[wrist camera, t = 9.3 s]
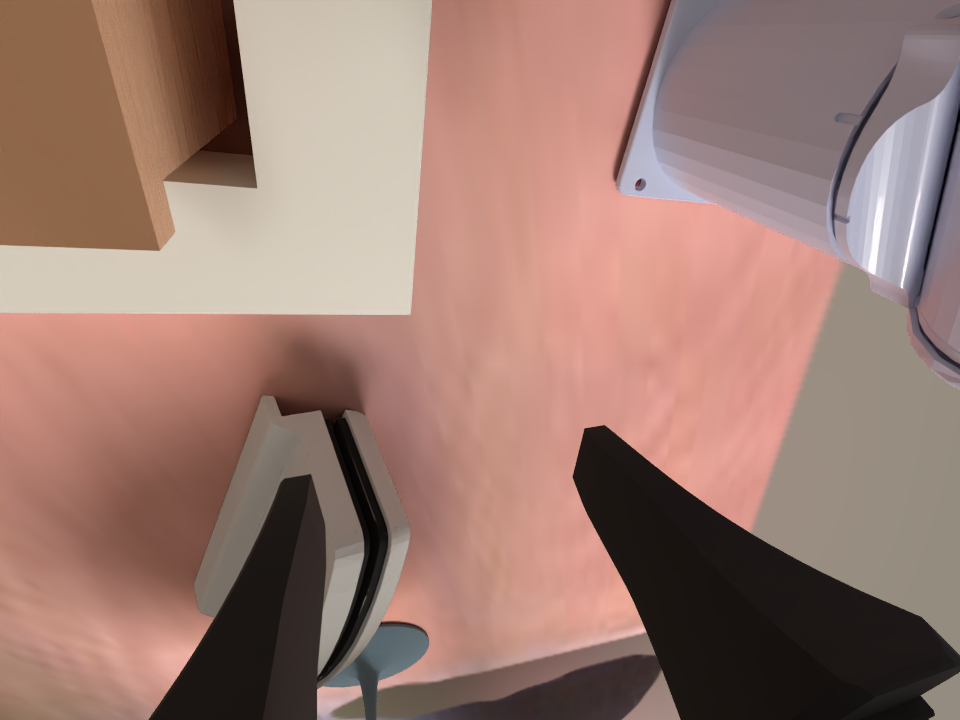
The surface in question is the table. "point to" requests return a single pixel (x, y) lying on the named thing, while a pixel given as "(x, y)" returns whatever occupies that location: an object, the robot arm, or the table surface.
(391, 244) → the well block
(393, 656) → the cocktail glass
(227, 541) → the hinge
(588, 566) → the table surface
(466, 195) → the table surface
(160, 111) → the t-shaped block
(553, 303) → the table surface
